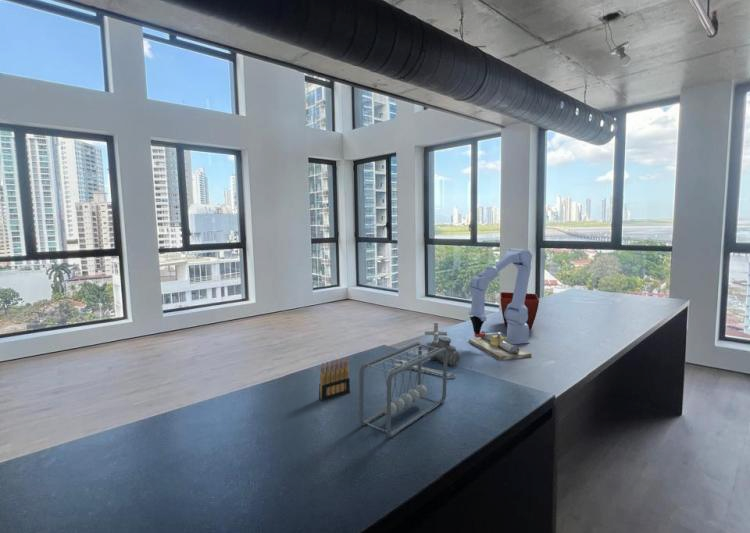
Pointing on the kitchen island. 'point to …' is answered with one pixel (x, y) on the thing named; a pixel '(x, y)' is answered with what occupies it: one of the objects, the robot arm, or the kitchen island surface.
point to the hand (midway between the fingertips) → (476, 332)
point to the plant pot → (530, 303)
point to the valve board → (498, 350)
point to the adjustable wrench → (424, 369)
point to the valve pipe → (501, 343)
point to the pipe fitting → (451, 351)
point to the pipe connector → (435, 332)
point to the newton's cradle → (405, 398)
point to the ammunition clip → (334, 380)
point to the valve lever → (486, 334)
